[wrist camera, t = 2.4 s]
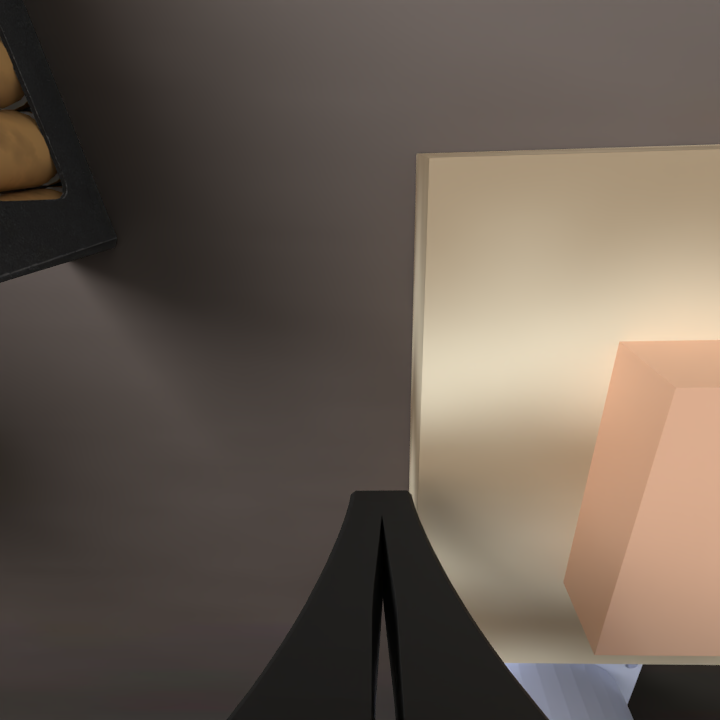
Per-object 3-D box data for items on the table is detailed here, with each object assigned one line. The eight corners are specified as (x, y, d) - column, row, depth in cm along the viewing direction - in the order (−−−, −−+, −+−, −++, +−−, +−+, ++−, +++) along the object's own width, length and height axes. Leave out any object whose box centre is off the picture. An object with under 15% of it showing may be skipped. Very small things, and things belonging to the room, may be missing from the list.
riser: (763, 587, 18) (831, 665, 15) (406, 586, 19) (412, 662, 16) (991, 136, 11) (1187, 135, 9) (416, 153, 12) (429, 157, 9)
